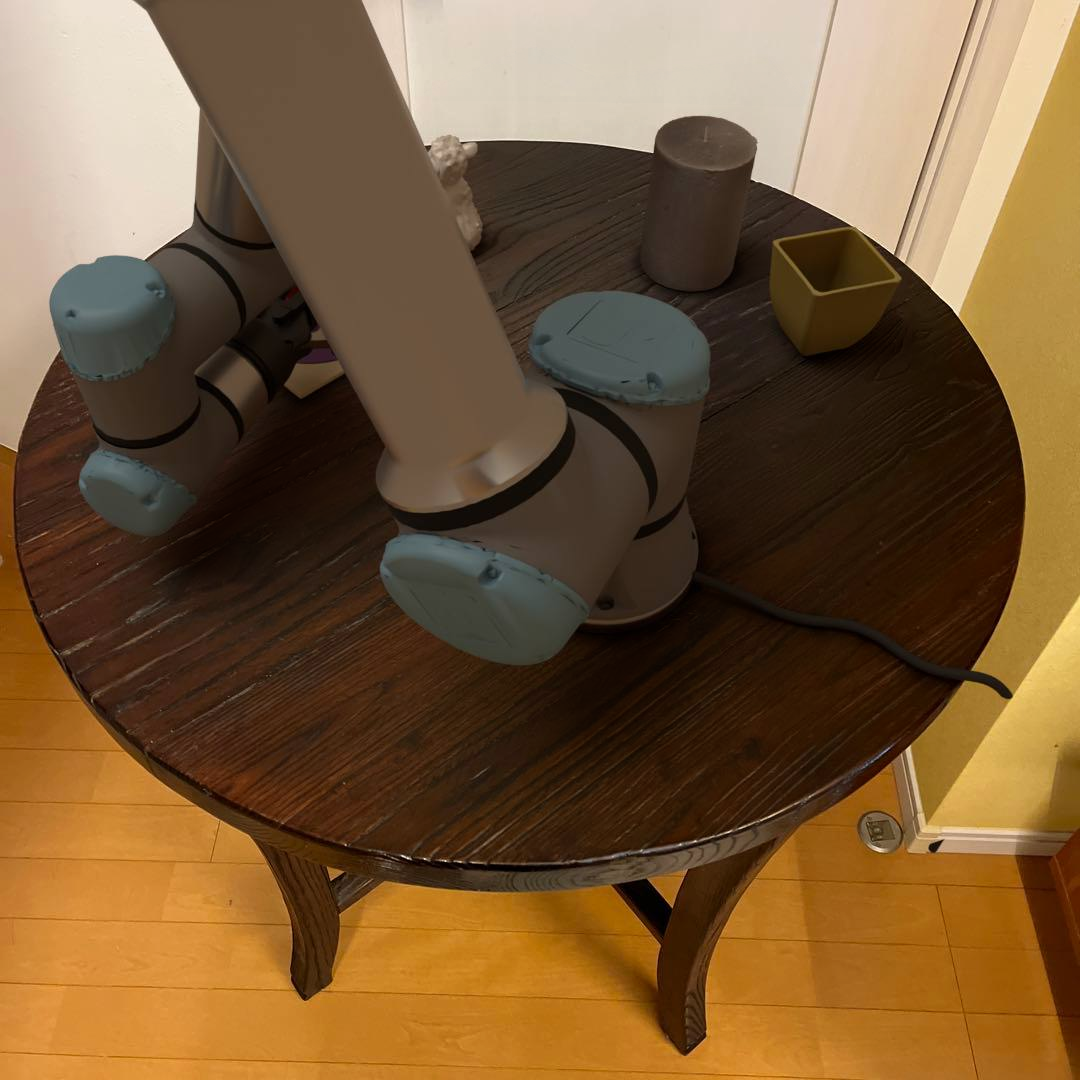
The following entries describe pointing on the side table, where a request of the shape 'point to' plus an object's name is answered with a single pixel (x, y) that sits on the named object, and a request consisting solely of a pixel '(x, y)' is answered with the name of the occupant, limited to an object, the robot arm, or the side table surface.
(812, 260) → the flower pot
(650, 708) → the side table surface
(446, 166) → the seated beast figurine
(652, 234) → the pillar candle
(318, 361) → the place mat
